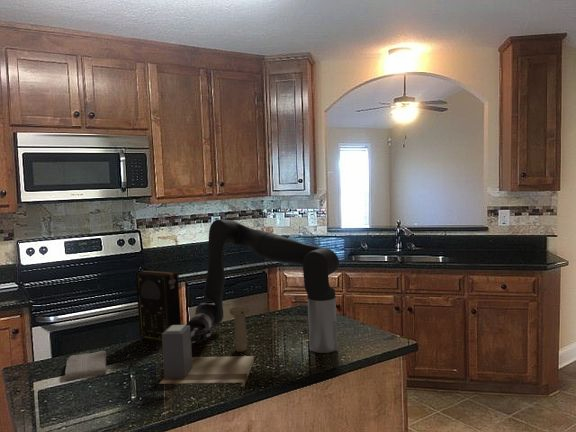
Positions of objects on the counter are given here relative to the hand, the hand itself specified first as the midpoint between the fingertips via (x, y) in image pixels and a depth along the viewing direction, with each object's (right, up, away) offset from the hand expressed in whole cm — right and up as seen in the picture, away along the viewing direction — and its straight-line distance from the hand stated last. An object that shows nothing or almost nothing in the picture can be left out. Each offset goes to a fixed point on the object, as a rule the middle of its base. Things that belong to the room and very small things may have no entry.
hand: (184, 343), depth 151 cm
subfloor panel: (+8, -7, -5) cm, 12 cm away
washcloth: (-32, -9, +5) cm, 34 cm away
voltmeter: (-15, -6, +30) cm, 34 cm away
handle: (+16, -6, +11) cm, 21 cm away
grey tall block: (0, -7, -7) cm, 9 cm away
